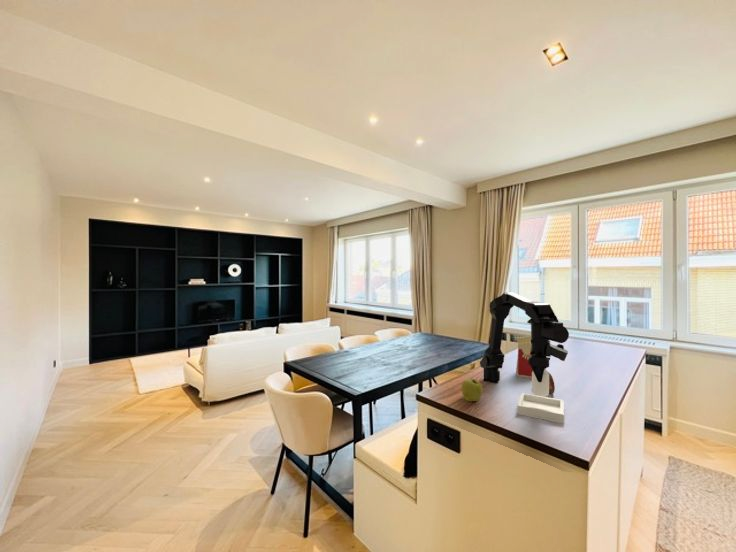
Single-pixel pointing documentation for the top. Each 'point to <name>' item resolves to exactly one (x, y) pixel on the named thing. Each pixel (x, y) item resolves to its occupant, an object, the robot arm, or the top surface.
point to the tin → (551, 384)
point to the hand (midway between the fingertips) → (540, 379)
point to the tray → (541, 407)
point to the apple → (471, 390)
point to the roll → (540, 384)
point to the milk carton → (524, 357)
